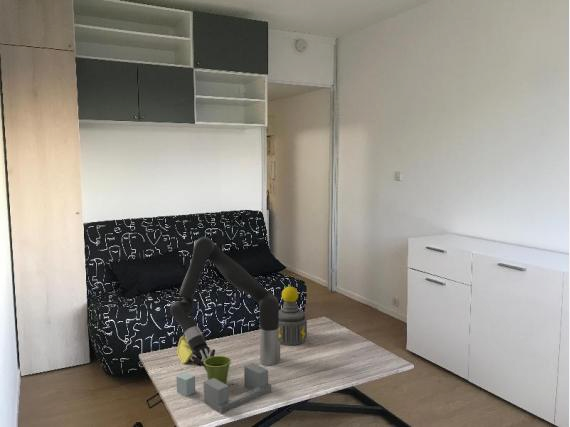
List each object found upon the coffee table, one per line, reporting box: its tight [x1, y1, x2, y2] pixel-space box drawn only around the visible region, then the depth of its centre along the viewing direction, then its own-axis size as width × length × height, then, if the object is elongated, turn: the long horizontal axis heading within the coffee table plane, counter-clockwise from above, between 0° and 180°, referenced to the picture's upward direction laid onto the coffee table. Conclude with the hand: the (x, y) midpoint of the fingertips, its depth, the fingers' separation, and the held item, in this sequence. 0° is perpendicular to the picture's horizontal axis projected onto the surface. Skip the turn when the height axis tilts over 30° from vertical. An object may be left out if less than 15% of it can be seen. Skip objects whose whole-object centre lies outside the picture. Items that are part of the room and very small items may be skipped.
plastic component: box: [177, 335, 193, 365], centre depth 239 cm, size 20×7×10 cm
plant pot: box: [204, 355, 232, 385], centre depth 205 cm, size 12×12×11 cm
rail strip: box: [218, 383, 272, 415], centre depth 192 cm, size 26×2×3 cm, turn 134°
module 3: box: [243, 362, 269, 390], centre depth 203 cm, size 5×10×9 cm, turn 44°
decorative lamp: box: [279, 286, 308, 346], centre depth 259 cm, size 19×19×30 cm
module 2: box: [203, 378, 230, 413], centre depth 189 cm, size 5×10×9 cm, turn 44°
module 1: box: [175, 372, 196, 397], centre depth 200 cm, size 5×6×7 cm
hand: (211, 372), depth 209 cm, fingers closed
